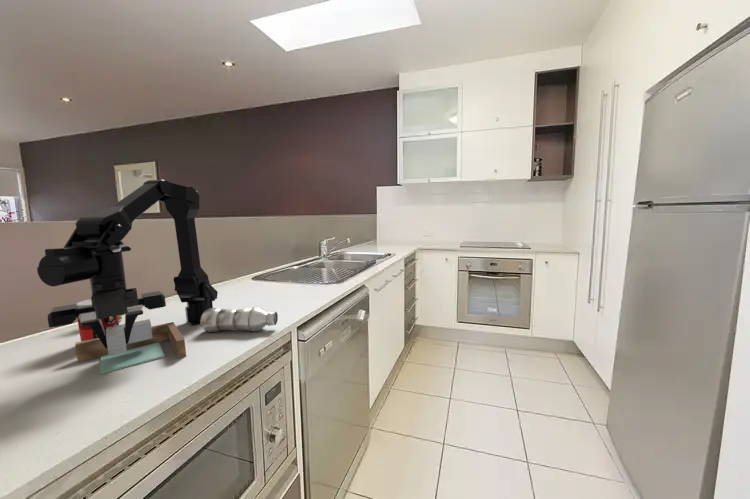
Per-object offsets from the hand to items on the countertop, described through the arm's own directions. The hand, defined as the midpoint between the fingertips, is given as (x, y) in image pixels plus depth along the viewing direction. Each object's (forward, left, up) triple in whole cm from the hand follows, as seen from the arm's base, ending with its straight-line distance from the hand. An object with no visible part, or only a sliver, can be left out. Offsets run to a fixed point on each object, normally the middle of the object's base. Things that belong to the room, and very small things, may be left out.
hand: (117, 345), depth 68 cm
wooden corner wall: (-2, -1, -4) cm, 5 cm away
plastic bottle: (-19, -8, -1) cm, 20 cm away
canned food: (+3, -18, -4) cm, 19 cm away
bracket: (-2, -1, -1) cm, 3 cm away
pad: (-2, -1, -4) cm, 5 cm away
